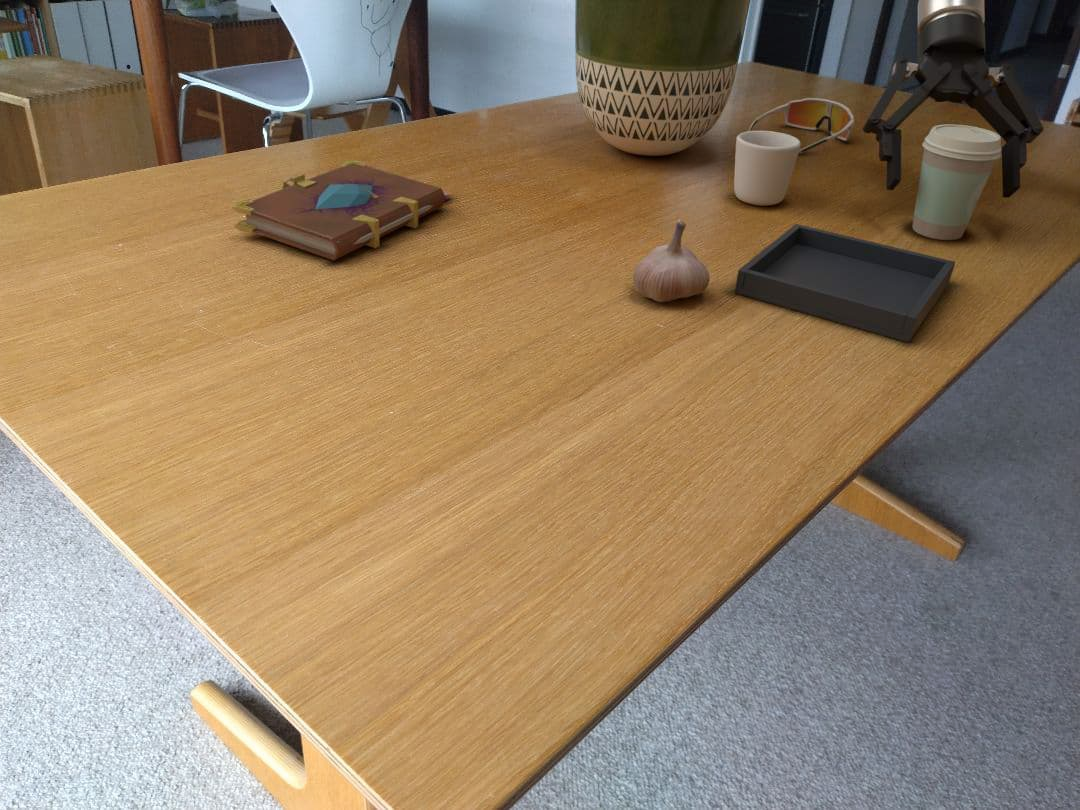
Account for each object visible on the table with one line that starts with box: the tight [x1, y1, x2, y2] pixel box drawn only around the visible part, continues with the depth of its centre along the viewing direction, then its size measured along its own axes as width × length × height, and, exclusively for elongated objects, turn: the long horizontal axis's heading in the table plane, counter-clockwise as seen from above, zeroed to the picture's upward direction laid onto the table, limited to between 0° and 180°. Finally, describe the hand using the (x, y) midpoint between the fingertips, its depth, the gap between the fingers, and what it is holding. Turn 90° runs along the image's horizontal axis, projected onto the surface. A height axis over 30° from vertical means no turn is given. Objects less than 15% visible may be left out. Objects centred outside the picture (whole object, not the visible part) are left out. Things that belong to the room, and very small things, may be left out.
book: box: [231, 159, 453, 261], centre depth 104 cm, size 16×25×5 cm, turn 151°
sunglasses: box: [748, 97, 855, 154], centre depth 140 cm, size 14×15×5 cm
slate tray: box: [734, 223, 956, 343], centre depth 91 cm, size 18×17×3 cm
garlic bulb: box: [632, 219, 710, 303], centre depth 87 cm, size 8×7×8 cm
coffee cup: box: [911, 123, 1002, 241], centre depth 104 cm, size 8×8×12 cm
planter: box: [574, 0, 751, 157], centre depth 125 cm, size 24×24×27 cm
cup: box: [733, 130, 802, 207], centre depth 114 cm, size 11×8×8 cm
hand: (952, 189), depth 103 cm, fingers open, 13 cm apart
